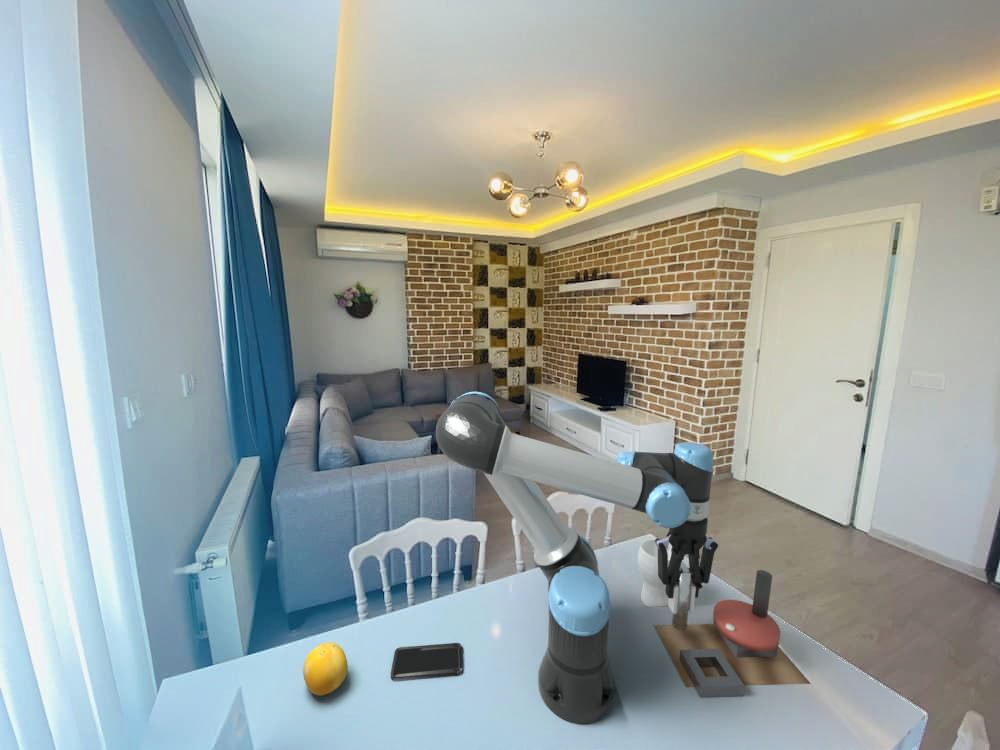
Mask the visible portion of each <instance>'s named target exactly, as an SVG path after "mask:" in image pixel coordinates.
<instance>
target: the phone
mask: <svg viewBox="0 0 1000 750" xmlns="http://www.w3.org/2000/svg"><path fill="white" fill-rule="evenodd" d="M393 653H394V654H393V659H392V665H391V668H390V669H391V670H390V679H391V681H393V682H402V681H404V682H405V681H414V680H425V679H426V680H427V679H436V678H447V677H448V678H450V677H458V676H460V675H462V673H463V645H462V643H460V642H452V643H451V642H450V643H440V644H439V643H435V644H426V645H425V644H424V645H412V646H411V645H410V646H399V647H397V648H396V649H395V650H394V652H393Z"/></svg>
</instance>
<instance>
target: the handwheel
mask: <svg viewBox="0 0 1000 750" xmlns="http://www.w3.org/2000/svg"><path fill="white" fill-rule="evenodd" d="M772 582H773V575H772V574H771V572H768V571H766V570H763V569H760V570H759V569H758V570H756V575H755V583H754V592H753V598H752V600H753V601H752V604H751V603H749V602H746V601H742V600H737V599H723V600H720V601H718V602H716V603H715V604H714V607H713V613H712V621H713V624H715V626H716V627H717V629H718V630H719V631H720V632H721V633H722V634H723V635H724V636H725V637H726V638H728V639H729V640H730V641H732V642H734V643H735V644H737V645H739V646H742V647H744V648H747V649H750V650H754V651H761V652H766V651H771V650H774V649H775V648H777V646H779V645H780V640H781V629H780V627H779V625H778V623H777V622H776V620H775V619H774V618H773V617H772V616H771V615H769V614H768V613H769V605H770V596H771V591H772V590H771V589H772Z"/></svg>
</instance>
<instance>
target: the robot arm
mask: <svg viewBox="0 0 1000 750" xmlns="http://www.w3.org/2000/svg"><path fill="white" fill-rule="evenodd" d="M501 415H502V413H501V409H500V407H499V405H498V403H497V401H496V400H495V399H494V398H493V397H492V396H490V395H489V394H487V393H485V392H480V391H470V392H466V393H464V394H462V395H460V396H458V397H457V398H456V399H454V400H453V401H452V402H451V403H450V405H449V406H448V408H447V409H445V411H443V412H442V414H441V415H440V417H439V418H438V420H437V422H436V426H435V439H436V443H437V446H438V447H439V449H440V451H441V452H442V453H443V454H444V455H445V456H446V457H447V458H448V459H450V460H451V461H452V462H454V463H456V464H458V465H460V466H462V467H465V468H468V469H470V470H474V471H476V472H479V473H483V475H485V477H486V478H487V480H488V482H489V483H490V484H491V486H492V487H493V489H494V491H496V494H497V495H498V496H499V498H500V499H501V501H502V502H503V504H504V506H506V508H507V510H508V511H509V513H510V514H511V515H512V517H513V519H514V520H515V521H516V524H518V526H519V528H520V529H521V530H522V532H523V533H524V535H525V536H526V537H527V540H528V541H529V542H530V544H531V545H532V547H533V548H534V549H535V551H534V554H533V559H534V561H535V563H536V564H537V566H538V568H539V569H540V570H541V572H542V574H543V575H544V576H545V578H546V580H547V588H548V589H547V591H548V594H547V595H548V599H547V600H548V632H547V633H548V635H547V648H546V651H545V653H544V655H543V657H542V660H541V662H540V665H539V669H538V679H537V681H538V683H537V684H538V692H539V694H540V696H541V699H542V701H543V702H544V704H545V705H546V707H548V709H549V710H550V711H551V712H553V714H554V715H557V716H558V717H559V718H561V719H562V720H565V721H568V722H571V723H575V724H581V725H582V724H592V723H594V722H598V721H600V720H601V719H602V718H604V717H606V715H607V714H608V713H609V712H610V710H611V709H612V705H613V702H614V693H615V691H614V690H615V687H614V686H615V685H614V679H613V676H612V671H611V668H610V666H609V663H608V658H607V656H608V653H607V652H608V638H609V637H608V636H609V621H610V614H611V597H610V592H609V588H608V585H607V583H606V581H604V579H603V577H601V575H600V571H599V565H598V559H597V556H596V552H595V551H594V548H593V546H591V544H590V543H589V541H588V540H587V539H586V538H584V537H583V536H581V535H579V533H578V531H576V529H575V528H573V527H567V526H565V524H564V522H563V521H562V520H561V518H560V517H559V515H558V514H557V512H556V510H555V509H554V508H553V506H552V505H551V502H550V501H549V500H548V498H547V497H546V496H545V494H544V493H543V491H542V489H541V488H540V486H539V485H538V483H539V484H542V485H547V486H549V487H553V488H557V489H560V490H563V491H566V492H571V493H574V494H578V495H581V496H584V497H589V498H591V499H595V500H599V501H602V502H606V503H609V504H613V505H615V506H620V507H623V508H627V509H631V510H634V511H637V512H640V513H643V514H646V515H647V516H648V518H649V519H650V520H651V521H652V522H653V523H654V524H655V525H657V526H659V527H662V528H664V529H668V532H667V534H666V537H664V538H662V539H660V538H659V537H657V538H654V539H655V543H656V545H657V547H658V577H659V578H660V580H661V581H662V583H663V584H664V585H666V595H667V596H668V598H669V599H668V606H669V609H670V611H671V612H673V614H677V603H678V591H679V587H678V586H677V584H676V581H677V577H678V574H679V570H680V566H681V562H682V561H684V560H685V555H687V556H688V568H690V569H691V571H692V574H691V585H690V597H689V608H688V613H689V614H695V613H694V610H695V601H696V599H697V598H698V597H699V596H700V595H699V593H700V590H701V589H702V588H703V584H709V582H710V578H711V573H712V572H711V571H712V567H713V562H714V557H715V553H716V551H717V549H718V548H719V544H718V542H717V541H715V540H714V538H712V537H711V536H709V537H707V531H708V523H709V522H708V521H709V520H708V516H709V508H710V499H711V498H710V497H711V489H712V488H711V487H712V479H713V472H714V452H713V451H712V449H710V447H708V446H707V445H705V444H701V443H697V442H691V441H684V442H678V443H677V444H676V445H675V447H674V450H673V452H652V451H651V452H650V451H649V452H648V451H646V452H645V451H636V450H633V451H621V452H619V453H618V455H617V457H616V462H615V461H612V460H609V459H605V458H603V457H602V458H601V457H598V456H595V455H591V454H587V453H583V452H580V451H578V450H577V451H576V450H573V449H569V448H566V447H562V446H559V445H556V444H552V443H548V442H545V441H541V440H537V439H533V438H530V437H526V436H523V435H520V434H516V433H513V432H511V430H510V428H509V427H508V426H507V424H506V423H505V421H504V420H503V418H502V416H501ZM669 544H671V545H672V549H671V552H672V554H671V558H670V562H669V566H668V554H667V550H668V545H669ZM701 549H702V551H701V553H700V550H701ZM700 554H701V555H700Z"/></svg>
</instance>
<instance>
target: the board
mask: <svg viewBox="0 0 1000 750" xmlns="http://www.w3.org/2000/svg"><path fill="white" fill-rule="evenodd" d="M653 627H654V630H655V631H656V633H657V635H658V638H659V639H660V641H661V643H662V645H663V647H664V649H665V650H666V652H667V654H668V657H669V658H670V660H671V662H672V664H673V665H674V667H675V670H676V671H677V673H678V675H679V677H680V678H681V679H680V680H682V683H683V684H684V686H685V688H695V687H694V686H693V684H692V682H691V680H690V678H689V676H688V675H687V673H686V671H685V669H684V667H683V666H682V664H681V662H680V660H679V658H680V650H689V649H720V651H721V652H722V654H723V655H724V657H725V658H726V659H727V661H728V662H729V664H730V665H731V667H732V668H733V670H734V671H735V673H736V674H737V676H738V677H739V678H740V680H741V681H742V683H743V684H744V686H775V685H776V686H777V685H778V686H779V685H809V684H810V685H811V682H810V681H809V680H808V678H807V677H806V676H805V674H804V673H803V672H802V671H801V670H800V669H799V668H798V667H797V665H795V663H794V662H793V661H792V660H791V659H790V657H789V656H788V655H787V653H785V651H784V650H783V649H782V648H781V647H780V646H779V645H778V646H777V648H775V649H774V650H771V651H766V652H761V651H754V650H750V649H747V648H744V647H742V646H739V645H737V644H735V643H734V642H732V641H730V640H729V639H728V638H726V637H725V636H724V635H723V634H722V633H721V632H720V631H719V630H718V629H717V627H716V626H715V624H714V623H701V624H700V623H698V624H697V623H696V624H694V623H693V624H687V629H686V630H684V631H680V630H677V629H675V628H674V627H673V626H672V624H662V625H661V624H655V625H654V624H653ZM700 668H701V670H702V672H703V673H704V675H705V677H720V675H719V674H718V672H717V671H716V669H715V668H714V667H700Z"/></svg>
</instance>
